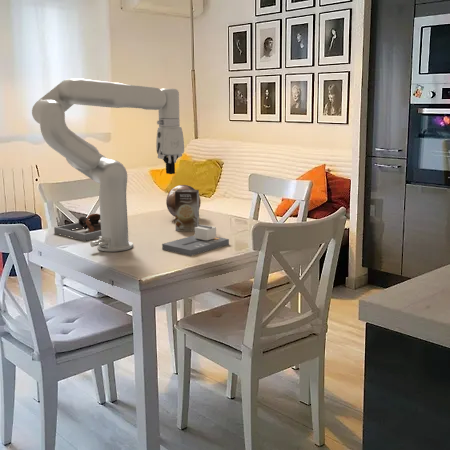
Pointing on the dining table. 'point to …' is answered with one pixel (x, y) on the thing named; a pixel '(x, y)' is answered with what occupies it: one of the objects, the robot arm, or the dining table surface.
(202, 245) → the board
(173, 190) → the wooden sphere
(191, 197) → the coffee box
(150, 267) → the dining table surface
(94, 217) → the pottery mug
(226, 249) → the dining table surface
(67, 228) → the grey shallow tray
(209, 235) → the fader knob
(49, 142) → the robot arm
